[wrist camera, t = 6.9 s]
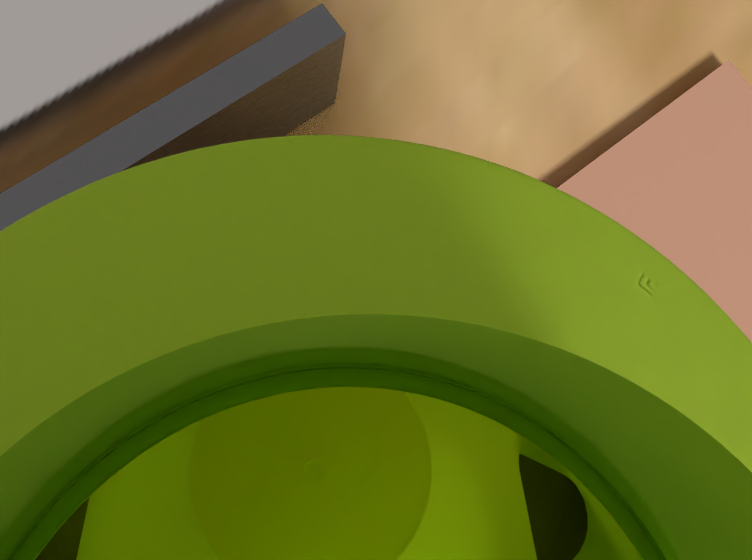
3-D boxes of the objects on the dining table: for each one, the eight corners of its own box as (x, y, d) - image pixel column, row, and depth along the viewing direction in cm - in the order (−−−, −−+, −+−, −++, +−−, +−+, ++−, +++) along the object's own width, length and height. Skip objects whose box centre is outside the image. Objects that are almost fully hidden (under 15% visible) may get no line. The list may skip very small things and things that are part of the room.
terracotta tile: (707, 587, 22) (718, 591, 22) (457, 262, 23) (462, 258, 23) (948, 343, 25) (964, 342, 25) (719, 67, 27) (728, 59, 26)
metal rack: (-314, 933, 17) (-523, 1116, 13) (-516, 594, 18) (-779, 654, 13) (491, 306, 23) (539, 282, 19) (315, 77, 24) (322, 3, 20)
